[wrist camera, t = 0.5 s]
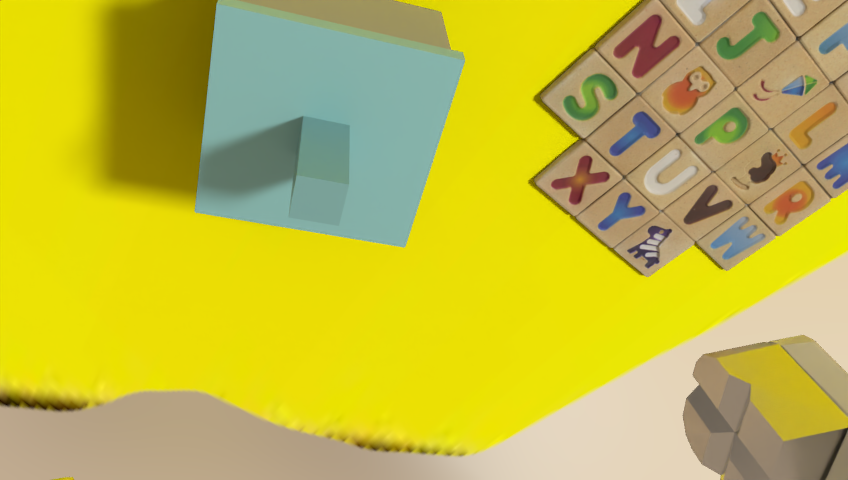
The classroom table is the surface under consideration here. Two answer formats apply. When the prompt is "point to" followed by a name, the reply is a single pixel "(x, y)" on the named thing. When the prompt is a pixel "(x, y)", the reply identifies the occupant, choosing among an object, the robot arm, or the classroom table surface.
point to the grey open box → (371, 17)
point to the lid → (320, 123)
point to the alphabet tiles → (704, 126)
